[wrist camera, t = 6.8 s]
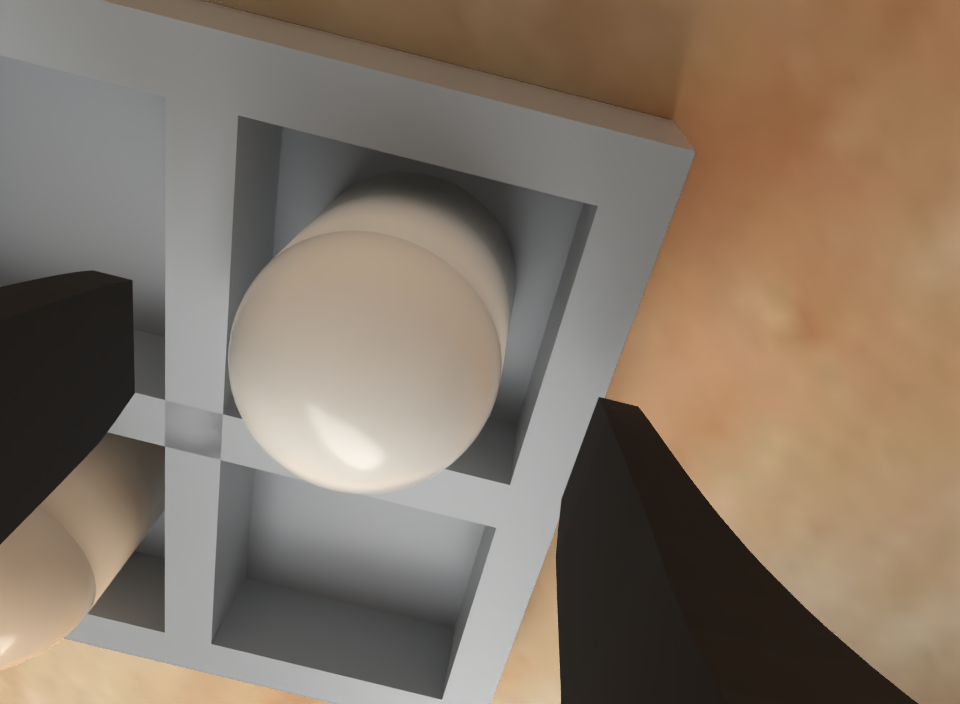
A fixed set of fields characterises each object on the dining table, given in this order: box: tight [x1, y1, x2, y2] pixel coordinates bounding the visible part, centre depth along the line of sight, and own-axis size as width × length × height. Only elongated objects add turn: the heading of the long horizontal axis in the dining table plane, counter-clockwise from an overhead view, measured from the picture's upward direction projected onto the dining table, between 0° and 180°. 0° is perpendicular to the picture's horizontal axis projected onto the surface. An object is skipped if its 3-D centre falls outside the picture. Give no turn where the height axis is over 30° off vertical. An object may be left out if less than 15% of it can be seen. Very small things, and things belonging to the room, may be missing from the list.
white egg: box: [228, 172, 516, 494], centre depth 12 cm, size 4×4×6 cm
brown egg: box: [0, 432, 165, 670], centre depth 16 cm, size 4×4×6 cm
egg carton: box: [0, 0, 696, 704], centre depth 16 cm, size 16×16×3 cm
